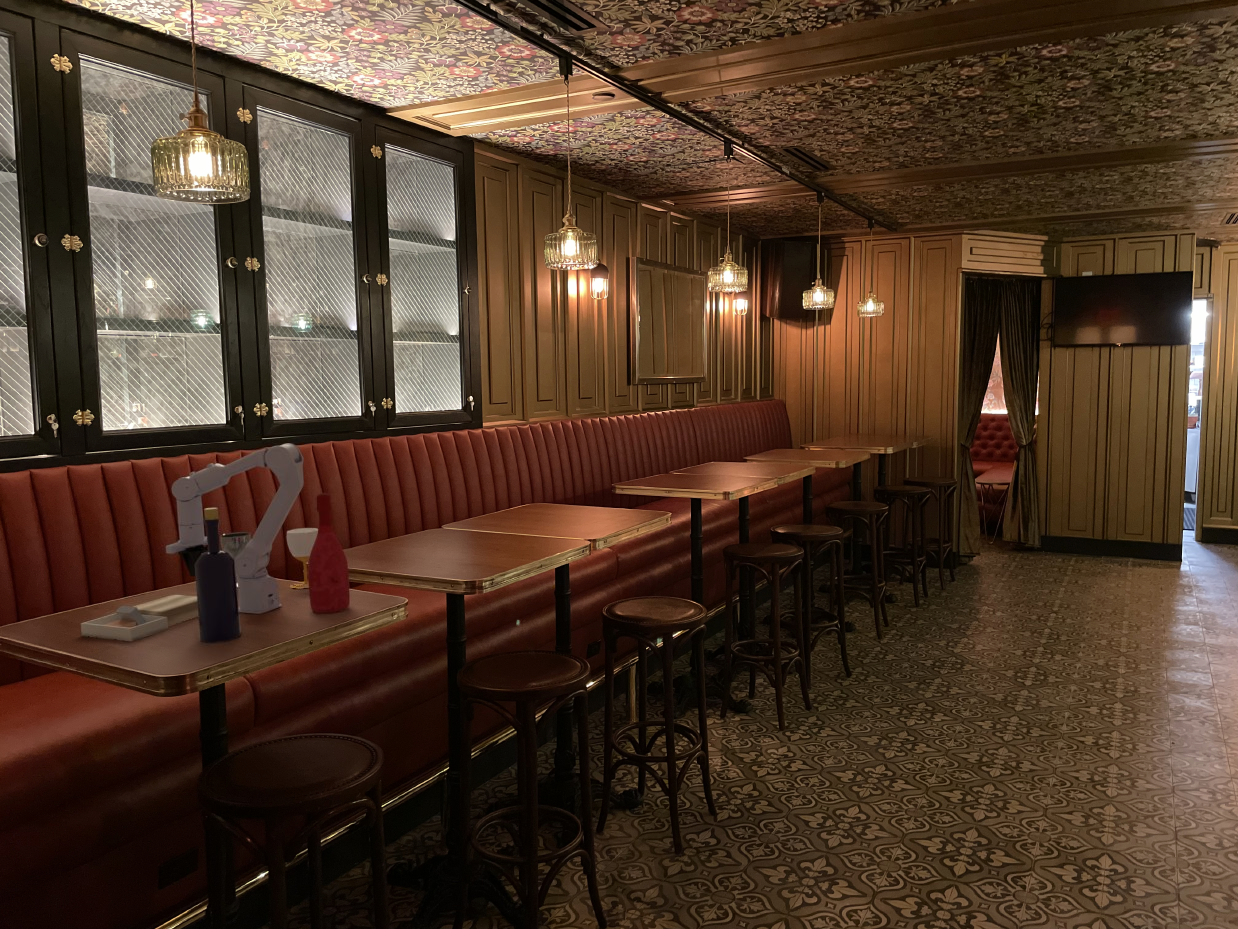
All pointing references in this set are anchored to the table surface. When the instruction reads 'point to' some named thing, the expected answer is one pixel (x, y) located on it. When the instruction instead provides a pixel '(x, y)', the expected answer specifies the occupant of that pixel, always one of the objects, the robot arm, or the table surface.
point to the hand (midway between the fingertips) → (195, 575)
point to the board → (171, 608)
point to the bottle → (216, 588)
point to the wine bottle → (327, 566)
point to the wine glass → (235, 542)
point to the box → (123, 628)
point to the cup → (301, 547)
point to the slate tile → (130, 614)
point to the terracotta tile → (123, 623)
